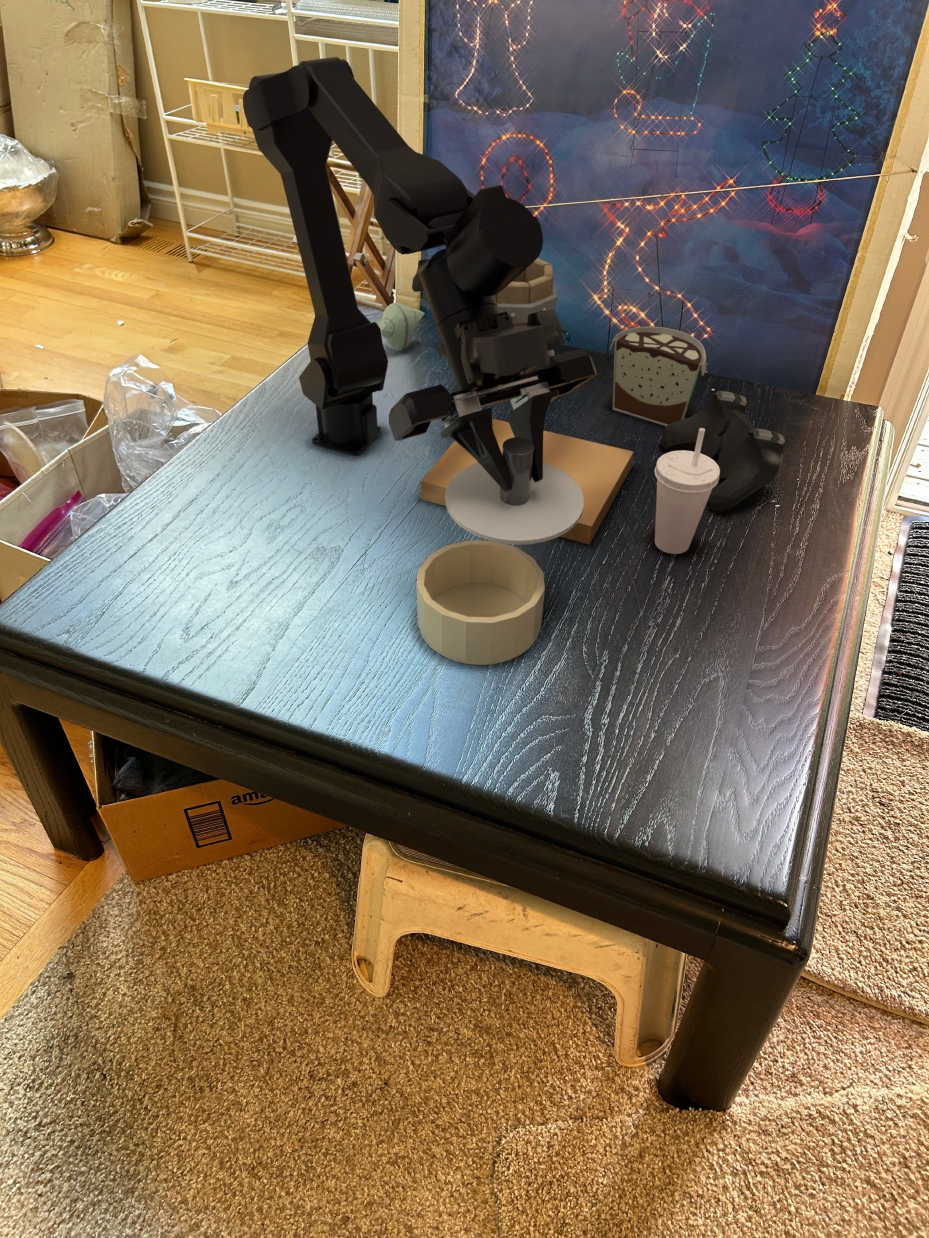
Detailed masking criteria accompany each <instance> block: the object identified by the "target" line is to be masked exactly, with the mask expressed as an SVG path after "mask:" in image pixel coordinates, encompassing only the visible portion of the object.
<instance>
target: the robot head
mask: <svg viewBox="0 0 929 1238" xmlns="http://www.w3.org/2000/svg"><path fill="white" fill-rule="evenodd" d="M424 315H426V313H425V312H424V311H421V310H419V309H417V308H411V307H409V306H406V305H404V304H402V303H400V302H392V303H390V304H389V305H388V306H386V307H385V309H384V311H383V313H382V317H381V320H380V321H379V322H376V323H377V324H378V326H379V327H380V329H381V336H382V337H383V339H385V340H386V342H387V344H388V345H389V347H390V348H391V349H392V350H393V351H398V352H402V351H404V349H407V347H408V346H409V345H410V343H411V340H412V338H413V334H414V330H415V328H416V326H417V325H418V324H419V322H420V321H421V320H422V318H424Z"/></svg>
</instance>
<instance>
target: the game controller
mask: <svg viewBox="0 0 929 1238" xmlns="http://www.w3.org/2000/svg"><path fill="white" fill-rule="evenodd" d="M746 410H747V399H746V398H745V396H742V395H740V394H738V393H733V392H730V391H724V390H717V391H716V392H715V393H714V392H713V393H712V398H711V399H710V400H709V401H708V402H707V403H706V404H705V405H704V407H703V408H702V409H701V410H699V411H698V412H696V413H694V414H693V415H691V416H690V417H685V419H683V420H679V421H676V422H673V423H670V424H668V425H667V426H665V428H664V429H663V431H662V434H661V440H660V441H661V446H662V448H663V449H664V450H665V451H666V452H668V453H669V452H672V451H682V450H684V451H689V450H695V447H696V442H697V437H698V433H699V429H700V428H704V429H705V432H704V437H703V441H702V446H701V451H700V453H701V454H703V455H706V456H708V457H709V458H711V459H712V460H714V461H715V462H716V463H717V465H718V466H719V469H720V474H719V479H723V482H721V483H719V484H717V485H716V486H715V487H713V488H712V491H711V493H710V496H709V498H708V501H707V503H708V505H709V506H710V509H711V510H712V511H714V512H716V513H723V512H725V511H728V510H730V509H732V508H733V507H735V506H736V505H738V504H739V503H740V502H742V501H743V500H745V499H746V498H748V497H749V496H751V495H752V494H753V493H755V492H756V491H759V489H761V488H763V487H764V486H766V485H768V484H770V483H771V482H773V481H774V480H775V479H776V478H777V476H778V475H779V473H780V471H781V468H782V466H783V461H784V460H783V458H784V457H783V450H784V448H785V444H784V443H785V442H786V440H785V438H784V436H783V435H782V434H780V433H778V432H776V431H774V430H771V431H770V430H768V429H765V428H764V429H762V428H757V427H756V426H755V424H753V423H752V422H751V420H749V419H748V417H746V415H745V412H746Z"/></svg>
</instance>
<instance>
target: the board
mask: <svg viewBox="0 0 929 1238" xmlns="http://www.w3.org/2000/svg"><path fill="white" fill-rule="evenodd" d="M492 425H493V432H494V434H495V437H496V440H497V442H498V445H499V447H500V450H501V453H502V445H503V443H504V441H506V440H507V439H509V438H514V434H513V432H512V429H511V427H510V424H509V422H508V421H505V420H502V419H501V420H500V419H496V418H492ZM633 457H634V451H632V450H629V449H625V448H620V447H616V446H611V445H607V444H602V443H599V442H594V441H590V440H586V439H583V438H582V439H581V438H577V437H573V436H569V435H565V434H560V433H557V432H556V433H555V432H552V431H547V430H544V432H543V463H546V464H549V465H551V466H554V467H556V468H558V469H560V470H561V471H563V472H565V473H566V474H567V475H569V476H570V477H571V478H572V479H573V480H574V481H575V482H576V483H577V484H578V486H579V487H580V489H581V491H582V494H583V497H584V508H583V513H582V516H581V518H580V519H579V521H578V522H577V524H576V525H575V526H574V527H573V528H572V529H570V530H569V531H568V532H566V533H565V534H563V535H561V536H559V537H558V538H562V539H567V540H569V541H574V542H578V543H581V544H585V545H588V546H589V545H590V544H591V543H592V540H593V539H594V537H595V535H596V533H597V532H598V530H599V528H600V527H601V524H602V522H603V521H604V519H605V517H606V516H607V514H608V512H609V510H610V508H611V506H612V504H613V503H614V501H615V499H616V498H617V495H618V494H619V492H620V490H621V488H622V486H623V484H624V483H625V481H626V479H627V477H628V475H629V474H630V472H631V470H632V465H633V459H634V458H633ZM475 463H478V462H477V461H476V459H475V458H474V457H473V456H471V455H470V454H469V453H468V452H467V451H466V450H465V449H464V448H463V447H461V446H460V445H459V444H458V443H457V442H456V441H455V440H453V442H452V443H451V445H450V446H449V447H448V448H447V450H445V452H444V453H443V454H442V455H441V457H440V458H439V459H438V460H437V461H436V462H435V464H433V466H432V467H431V468H430V470H429V471H428V472H427V473H426V474H425V475H424V476H423V477H422V479H421V480H420V499H421V500H422V501H425V502H429V503H432V504H436V505H440V506H445V507H446V503H445V493H446V489H447V486H448V484H449V482H450V481H451V480H452V478H453V477H454V476H455V475H456V474H457V473H458V472H460V471H461V470H463V469H464V468H466V467H468V466H470V465H473V464H475Z"/></svg>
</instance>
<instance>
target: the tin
mask: <svg viewBox="0 0 929 1238" xmlns="http://www.w3.org/2000/svg"><path fill="white" fill-rule="evenodd" d="M545 585H546V584H545V573H544V571H543V570H542V568H541V567H540V565H539V564H538V563H537V561H536V560H535V559H534V557H533V556H531V555H529V554H528V553H526V552H525V551H524V550H521V549H520V548H518V547H517V546H514V545H512V544H504V543H498V542H493V541H489V540H485V539H483V540H479V539H478V540H477V539H469V540H468V539H467V540H464V541H459V542H454V543H450V544H447V545H445V546H443V547H440V548H439V549H437V550H436V551H434V552H432V553H431V554H429V555H428V556H427V558H426V559H425V560H424V561H423V563H422V564H421V565H420V567H419V568H418V569H417V577H416V611H417V614H416V615H417V626H418V630H419V633H420V636H421V637H422V638H423V640H424V642H425V643H426V644H427V646H428V647H430V648H431V649H432V650H433V651H434V652H436V653H437V654H438V655H440V656H442V657H444V658H446V659H448V660H451V661H454V662H457V663H461V664H467V665H474V666H475V665H476V666H488V665H489V666H490V665H496V664H500V663H504V662H508V661H510V660H513V659H515V658H517V657H519V656H520V655H523V654H524V653H525V652H526V651H528V650H529V649H530V648H531V647H532V646H533V645H534V643H535V642H536V641H537V639H538V636H539V634H540V632H541V631H540V630H541V629H542V622H543V612H544V611H543V610H544V601H545V592H546V591H545V590H546V589H545V588H546V586H545Z"/></svg>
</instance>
